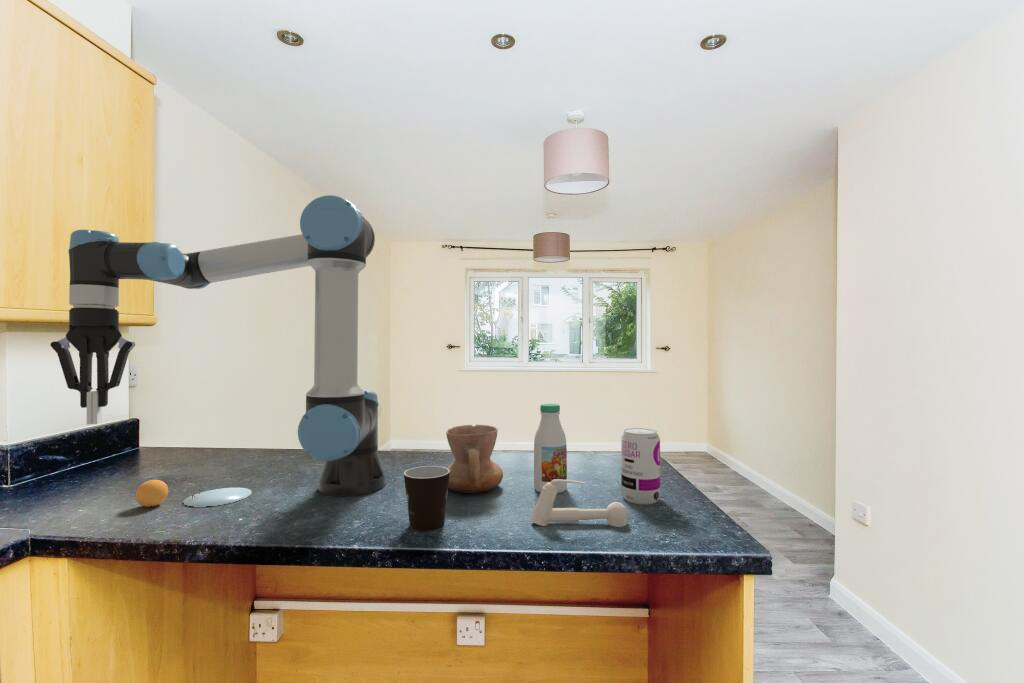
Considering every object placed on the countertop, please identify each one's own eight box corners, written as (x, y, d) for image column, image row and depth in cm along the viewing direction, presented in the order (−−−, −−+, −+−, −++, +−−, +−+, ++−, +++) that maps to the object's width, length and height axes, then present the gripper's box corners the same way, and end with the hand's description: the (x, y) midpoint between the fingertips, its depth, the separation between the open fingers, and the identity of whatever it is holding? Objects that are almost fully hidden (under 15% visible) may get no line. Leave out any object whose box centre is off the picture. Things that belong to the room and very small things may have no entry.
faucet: (621, 553, 86) (637, 502, 86) (531, 523, 86) (548, 472, 86) (615, 543, 90) (631, 495, 90) (530, 515, 90) (546, 467, 90)
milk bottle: (529, 492, 107) (529, 405, 107) (540, 483, 114) (539, 401, 114) (561, 496, 104) (561, 407, 104) (570, 486, 111) (570, 403, 111)
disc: (252, 485, 113) (252, 484, 113) (250, 501, 101) (250, 500, 101) (188, 493, 107) (188, 492, 107) (177, 511, 95) (177, 510, 95)
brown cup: (440, 535, 83) (440, 479, 83) (395, 531, 84) (395, 477, 84) (460, 512, 94) (460, 463, 94) (420, 509, 96) (420, 461, 96)
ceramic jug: (444, 478, 118) (443, 423, 118) (501, 476, 119) (500, 421, 119) (438, 504, 100) (437, 438, 100) (505, 501, 101) (504, 436, 101)
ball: (170, 500, 102) (170, 475, 102) (165, 507, 97) (165, 481, 97) (139, 504, 100) (139, 478, 100) (132, 512, 95) (132, 485, 95)
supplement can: (662, 496, 104) (661, 429, 104) (657, 507, 96) (656, 435, 96) (625, 491, 107) (625, 426, 107) (618, 502, 100) (617, 432, 100)
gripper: (139, 310, 101) (139, 418, 101) (59, 308, 95) (58, 423, 95) (130, 307, 94) (129, 423, 94) (42, 305, 88) (42, 429, 88)
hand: (94, 423), depth 94 cm, fingers closed
